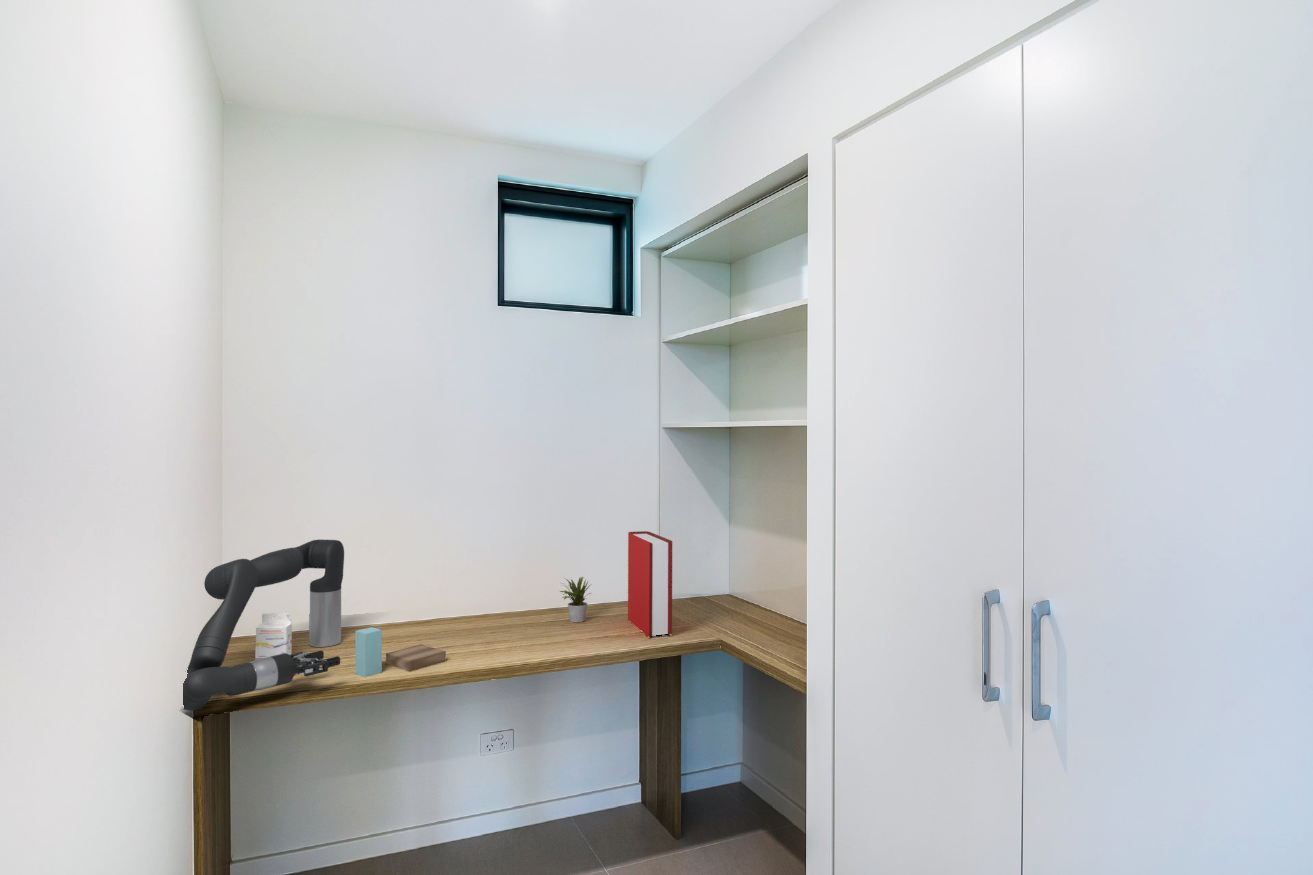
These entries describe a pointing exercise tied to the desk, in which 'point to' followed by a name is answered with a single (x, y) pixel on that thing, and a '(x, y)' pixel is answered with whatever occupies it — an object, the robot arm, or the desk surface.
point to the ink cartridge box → (273, 635)
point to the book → (650, 582)
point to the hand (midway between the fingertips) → (331, 657)
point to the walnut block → (415, 657)
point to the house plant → (577, 601)
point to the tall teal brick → (368, 652)
